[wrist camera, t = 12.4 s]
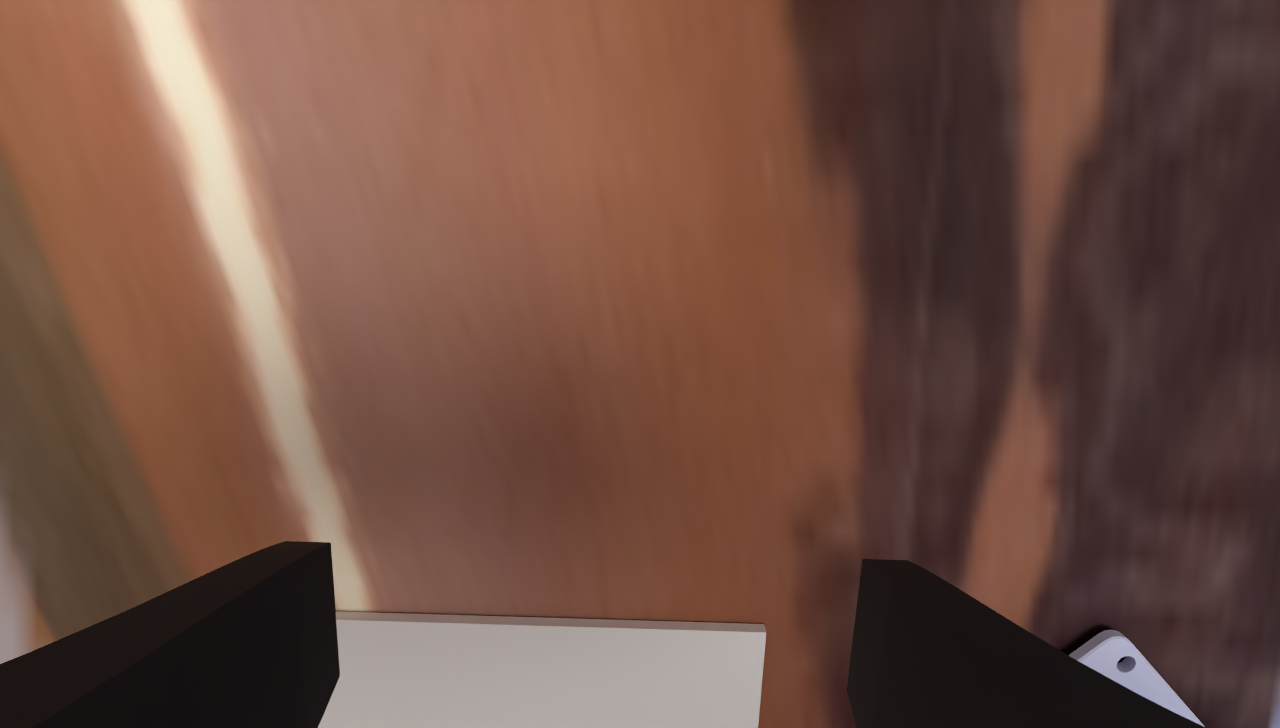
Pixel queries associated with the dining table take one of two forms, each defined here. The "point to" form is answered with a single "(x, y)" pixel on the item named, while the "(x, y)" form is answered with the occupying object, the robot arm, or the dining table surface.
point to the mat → (543, 672)
